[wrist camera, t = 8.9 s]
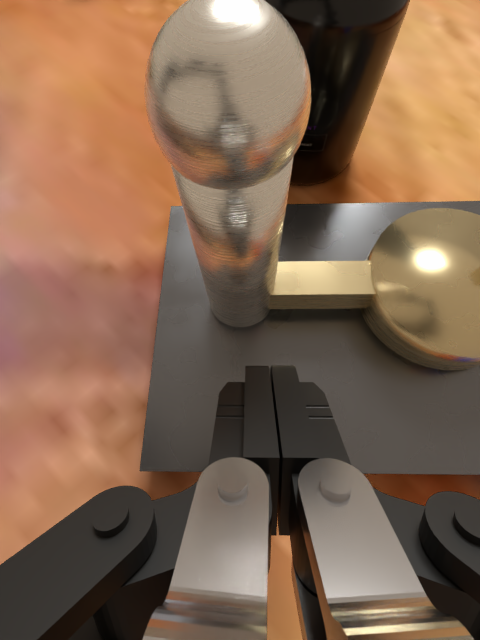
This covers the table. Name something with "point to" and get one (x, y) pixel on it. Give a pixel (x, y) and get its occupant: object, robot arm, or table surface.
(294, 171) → the supplement bottle
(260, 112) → the crank handle
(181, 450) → the stand base
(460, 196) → the table surface
